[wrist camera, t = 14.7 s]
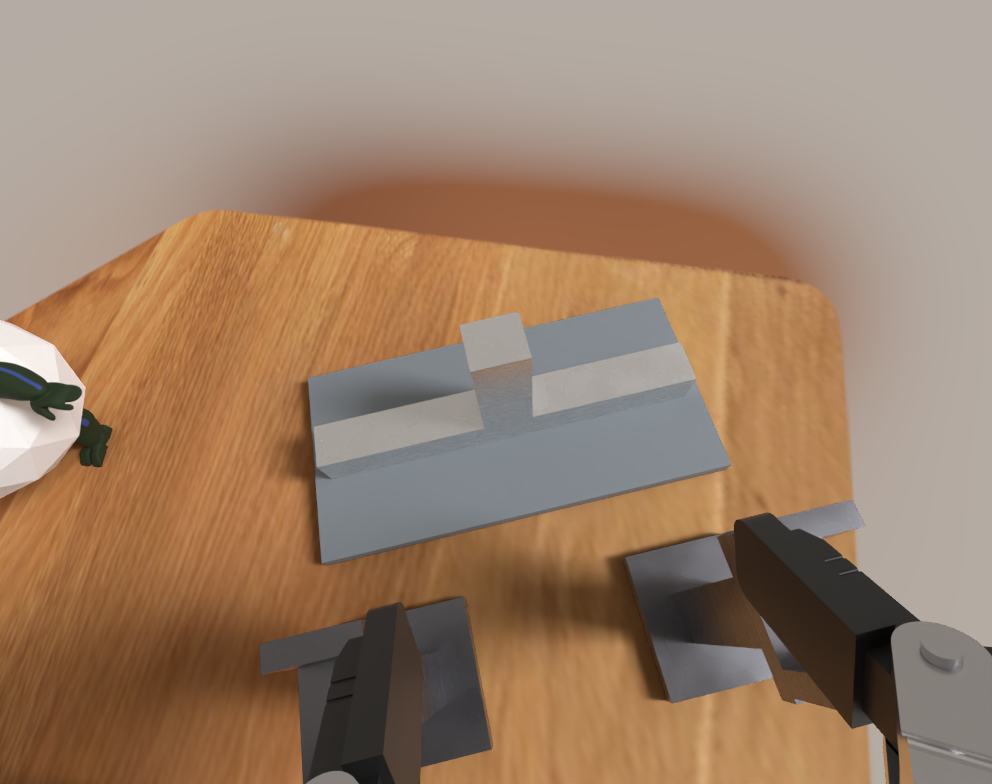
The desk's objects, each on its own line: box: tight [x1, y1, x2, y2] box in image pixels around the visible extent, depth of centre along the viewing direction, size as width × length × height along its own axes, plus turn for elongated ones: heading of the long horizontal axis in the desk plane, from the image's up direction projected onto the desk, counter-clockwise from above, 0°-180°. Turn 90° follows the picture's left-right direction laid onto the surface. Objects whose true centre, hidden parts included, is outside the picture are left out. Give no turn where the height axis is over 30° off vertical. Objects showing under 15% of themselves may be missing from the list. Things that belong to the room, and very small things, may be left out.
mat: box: [308, 298, 731, 565], centre depth 32 cm, size 24×12×1 cm, turn 103°
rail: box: [314, 312, 696, 479], centre depth 28 cm, size 22×2×10 cm, turn 103°
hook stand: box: [260, 500, 866, 784], centre depth 21 cm, size 21×7×14 cm, turn 103°
